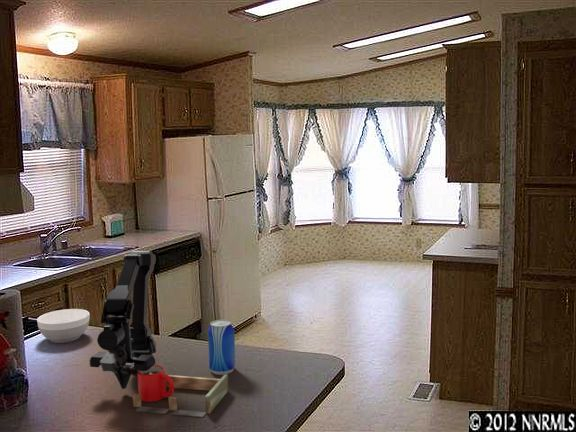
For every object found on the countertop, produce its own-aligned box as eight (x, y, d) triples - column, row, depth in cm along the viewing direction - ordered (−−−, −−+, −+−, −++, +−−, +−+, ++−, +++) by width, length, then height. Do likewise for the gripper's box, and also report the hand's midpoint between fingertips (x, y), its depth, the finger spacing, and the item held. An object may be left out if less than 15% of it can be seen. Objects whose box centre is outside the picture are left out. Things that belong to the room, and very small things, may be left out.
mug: (167, 405, 170) (165, 379, 169) (133, 398, 175) (131, 373, 174) (183, 394, 177) (181, 368, 176) (150, 388, 182) (148, 363, 181)
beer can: (231, 376, 189) (229, 327, 187) (205, 375, 191) (203, 326, 188) (238, 366, 197) (236, 319, 195) (214, 364, 199) (212, 318, 196)
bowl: (31, 338, 231) (29, 316, 230) (79, 326, 243) (78, 305, 242) (49, 350, 217) (47, 327, 215) (99, 338, 229) (97, 315, 228)
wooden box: (129, 410, 167) (127, 393, 167) (157, 384, 184) (156, 369, 184) (206, 418, 162) (205, 400, 161) (228, 390, 179) (227, 374, 178)
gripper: (76, 345, 171) (80, 397, 173) (136, 349, 166) (139, 403, 169) (98, 332, 182) (101, 381, 184) (154, 336, 177) (157, 386, 179)
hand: (124, 388), depth 179 cm, fingers closed
